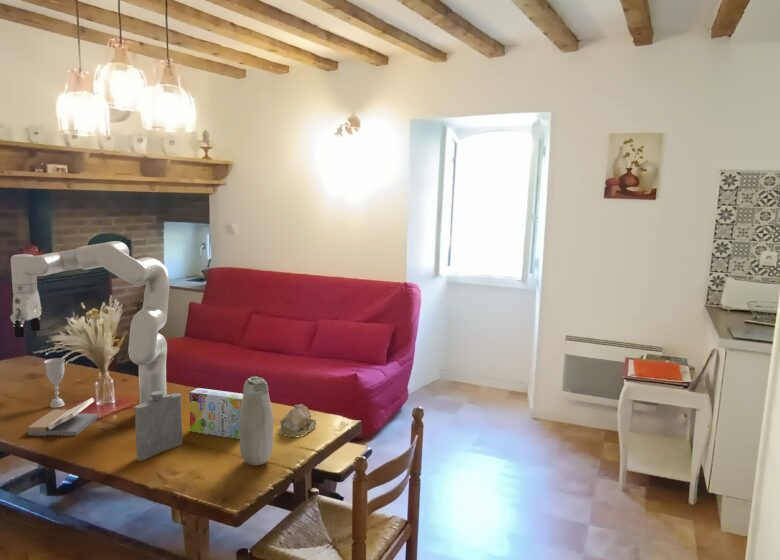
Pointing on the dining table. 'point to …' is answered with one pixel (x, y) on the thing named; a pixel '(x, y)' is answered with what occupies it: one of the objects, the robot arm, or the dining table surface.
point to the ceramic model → (297, 422)
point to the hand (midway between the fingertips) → (28, 333)
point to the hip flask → (158, 424)
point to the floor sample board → (65, 428)
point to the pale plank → (70, 413)
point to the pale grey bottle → (256, 422)
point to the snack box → (215, 412)
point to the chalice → (55, 377)
